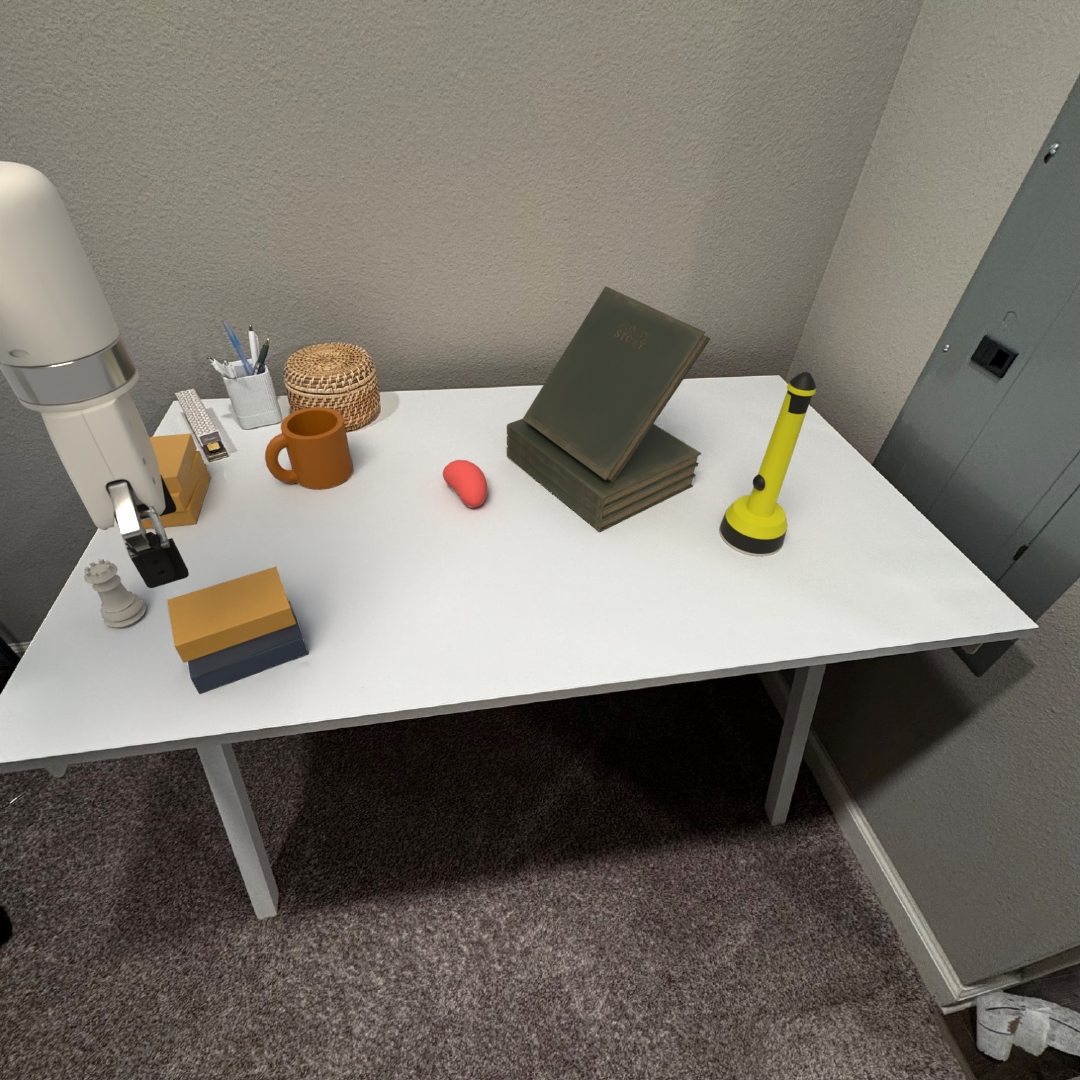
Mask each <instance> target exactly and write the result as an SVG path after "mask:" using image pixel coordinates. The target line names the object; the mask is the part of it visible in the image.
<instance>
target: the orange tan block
mask: <svg viewBox="0 0 1080 1080" xmlns="http://www.w3.org/2000/svg"><path fill="white" fill-rule="evenodd" d="M286 595H287V594H286V590H285V588H284V585H283V581H282V579H281V577H280V573H279V571H278V567H277V566H272V567H269V568H266V569H262V570H259V571H255V572H253V573H249V574H245V575H242V576H240V577H237V578H234V579H230V580H227V581H224V582H220V583H217V584H214V585H210V586H207V587H204V588H201V589H198V590H195V591H191V592H188V593H184V594H181V595H177V596H174V597H171V598H169V599H166V602H167V603H166V604H167V609H168V614H169V615H168V616H169V621H170V627H171V634H172V639H173V645H174V649H175V650H176V652H177V654H178V655H179V657H180V659H181V661H182V663H183V664H184V663H188V661H190V660H193V659H196V658H199V657H202V656H205V655H208V654H211V653H213V652H216V651H219V650H222V649H225V648H228V647H231V646H234V645H237V644H239V643H242V642H245V641H248V640H251V639H254V638H257V637H260V636H263V635H265V634H268V633H271V632H274V631H277V630H280V629H283V628H286V627H288V626H291V625H294V624H296V622H295V619H294V616H293V613H292V610H291V607H290V604H289V602H288V600H289V598H288V595H287V596H286ZM287 598H288V599H287Z"/></svg>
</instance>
